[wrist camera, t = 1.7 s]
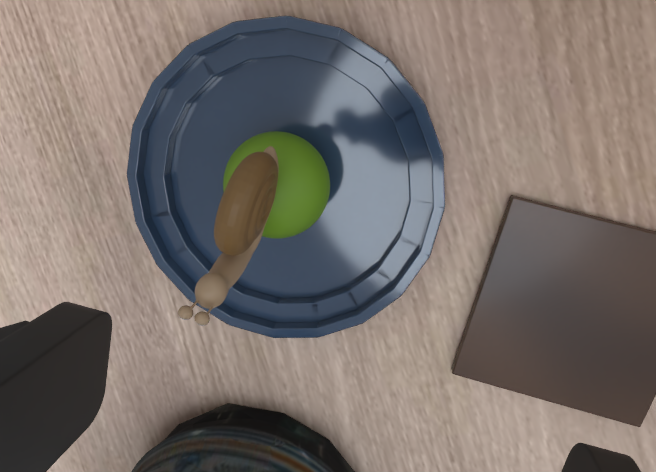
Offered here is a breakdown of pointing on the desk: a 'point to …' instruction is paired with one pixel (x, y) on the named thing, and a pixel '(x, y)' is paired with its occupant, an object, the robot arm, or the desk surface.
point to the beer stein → (243, 445)
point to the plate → (328, 139)
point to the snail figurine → (261, 207)
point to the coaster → (567, 312)
